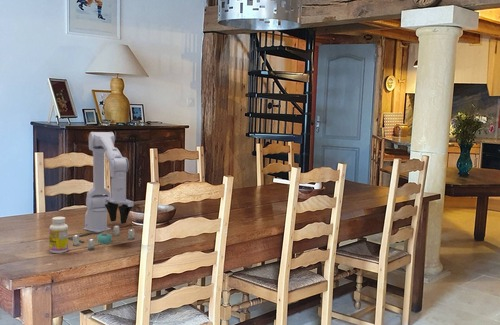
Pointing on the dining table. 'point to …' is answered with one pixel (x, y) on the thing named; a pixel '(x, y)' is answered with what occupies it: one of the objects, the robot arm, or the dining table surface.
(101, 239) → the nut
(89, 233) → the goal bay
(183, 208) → the dining table surface
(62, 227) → the supplement bottle
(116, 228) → the spacer field
